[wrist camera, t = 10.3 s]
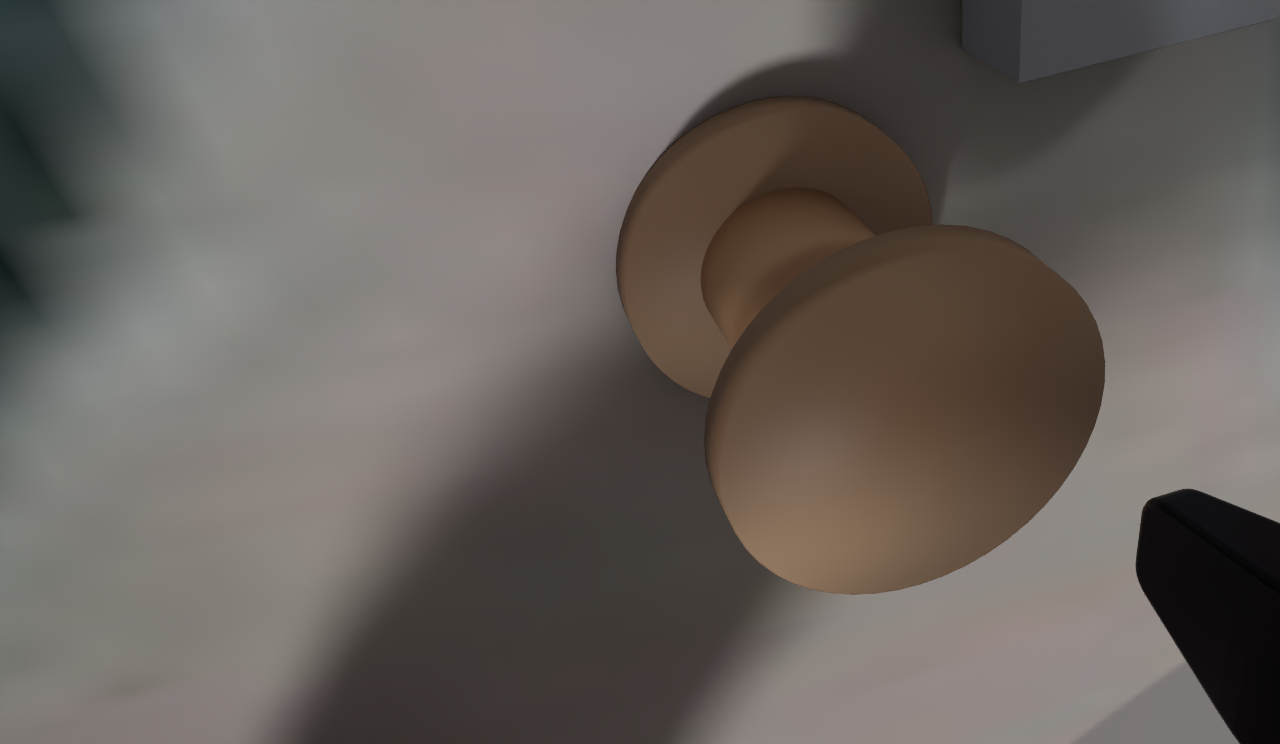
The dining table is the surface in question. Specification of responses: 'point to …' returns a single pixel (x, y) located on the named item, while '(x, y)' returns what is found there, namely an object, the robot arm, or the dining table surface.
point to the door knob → (853, 348)
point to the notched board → (1092, 29)
